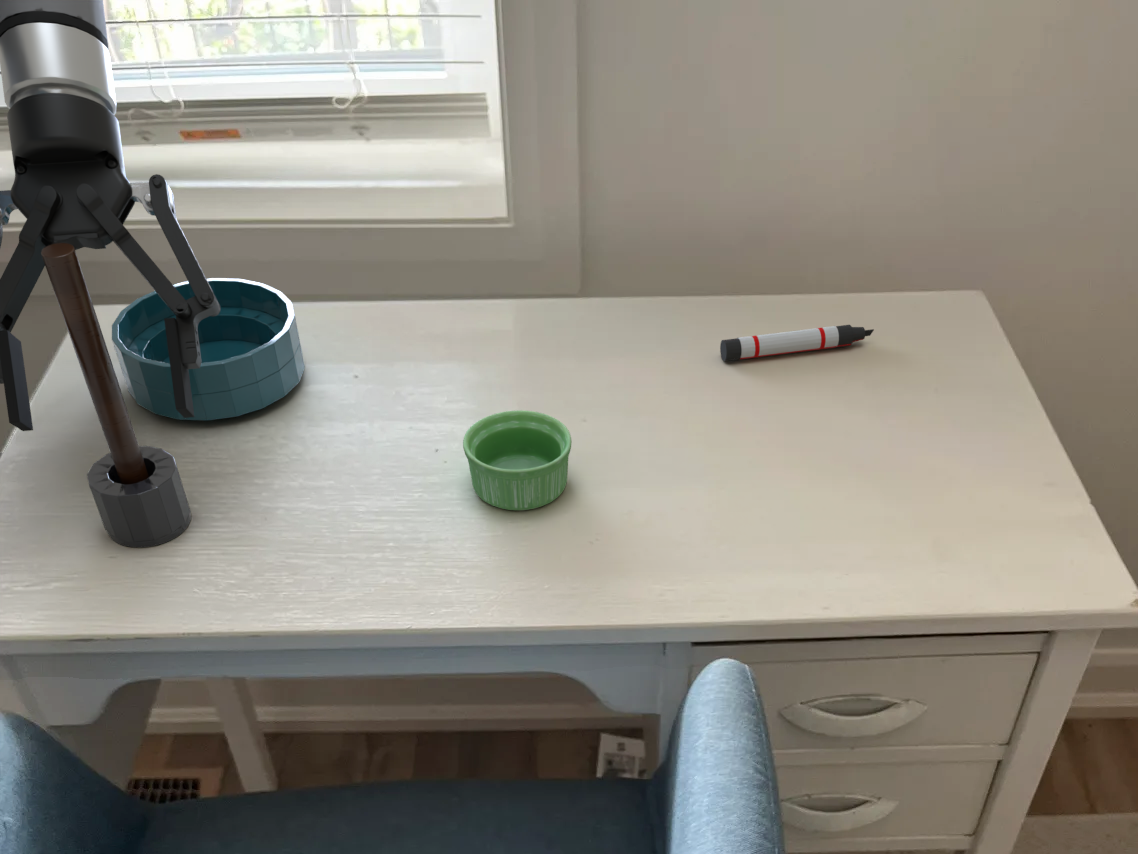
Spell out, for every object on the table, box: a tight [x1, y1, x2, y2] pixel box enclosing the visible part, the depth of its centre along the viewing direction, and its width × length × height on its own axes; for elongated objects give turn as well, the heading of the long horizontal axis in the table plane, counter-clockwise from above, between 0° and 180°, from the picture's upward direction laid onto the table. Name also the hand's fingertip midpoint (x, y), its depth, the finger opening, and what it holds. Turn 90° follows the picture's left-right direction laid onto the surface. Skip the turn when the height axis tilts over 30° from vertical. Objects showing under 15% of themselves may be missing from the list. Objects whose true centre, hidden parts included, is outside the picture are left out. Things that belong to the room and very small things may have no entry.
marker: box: [719, 324, 875, 362], centre depth 115 cm, size 15×2×2 cm, turn 103°
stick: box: [41, 243, 149, 484], centre depth 90 cm, size 2×2×22 cm
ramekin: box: [462, 409, 572, 511], centre depth 100 cm, size 9×9×4 cm
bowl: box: [111, 277, 306, 421], centre depth 111 cm, size 16×16×6 cm
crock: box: [86, 445, 192, 548], centre depth 96 cm, size 7×7×5 cm
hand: (103, 420), depth 88 cm, fingers open, 11 cm apart
